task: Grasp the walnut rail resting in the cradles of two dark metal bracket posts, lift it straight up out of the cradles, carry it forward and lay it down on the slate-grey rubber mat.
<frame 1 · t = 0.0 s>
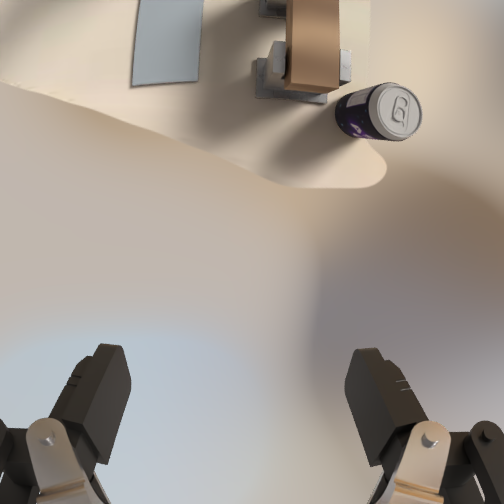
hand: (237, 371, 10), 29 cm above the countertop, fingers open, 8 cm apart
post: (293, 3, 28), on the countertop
beverage can: (353, 115, 34), on the countertop
mat: (169, 25, 29), on the countertop
rail: (306, 18, 23), point 8 cm above the countertop, touching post, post
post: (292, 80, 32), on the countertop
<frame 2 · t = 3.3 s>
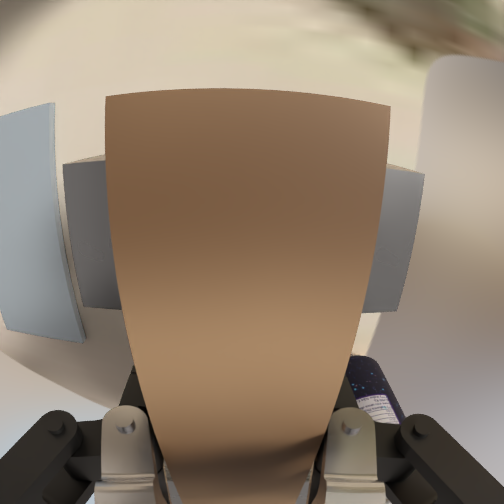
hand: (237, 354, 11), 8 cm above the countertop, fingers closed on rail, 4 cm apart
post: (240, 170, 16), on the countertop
beverage can: (341, 374, 22), on the countertop
mat: (18, 233, 16), on the countertop
rail: (238, 362, 10), point 8 cm above the countertop, touching gripper, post, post
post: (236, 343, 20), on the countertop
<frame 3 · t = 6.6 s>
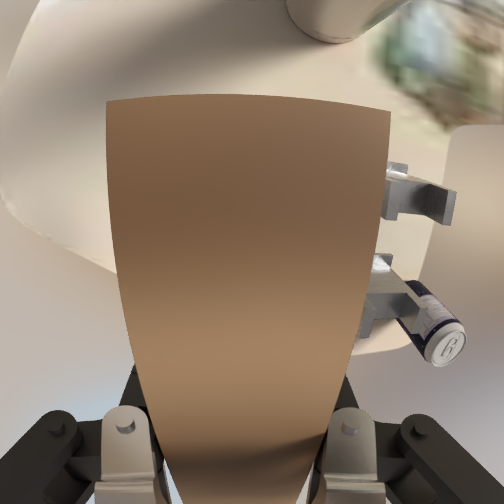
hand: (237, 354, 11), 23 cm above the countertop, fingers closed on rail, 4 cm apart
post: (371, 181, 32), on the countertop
beverage can: (404, 295, 38), on the countertop
rail: (238, 364, 10), point 24 cm above the countertop, touching gripper
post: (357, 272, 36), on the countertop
when the fingers open (2 cm above the countertop, at t = 9.7 s): rail drops 2 cm, resting on mat.
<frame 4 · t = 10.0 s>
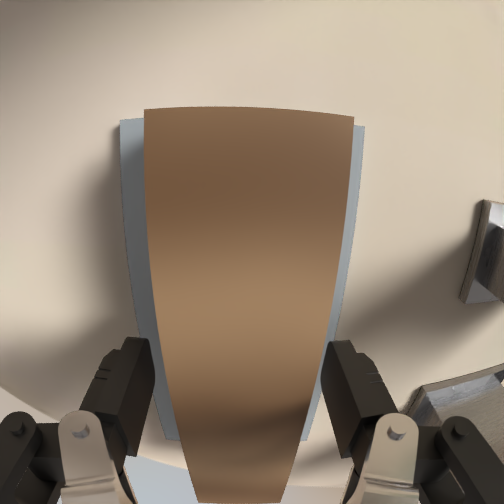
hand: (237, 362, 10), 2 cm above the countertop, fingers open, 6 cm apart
mat: (237, 325, 12), on the countertop
rail: (239, 336, 12), point 1 cm above the countertop, touching mat
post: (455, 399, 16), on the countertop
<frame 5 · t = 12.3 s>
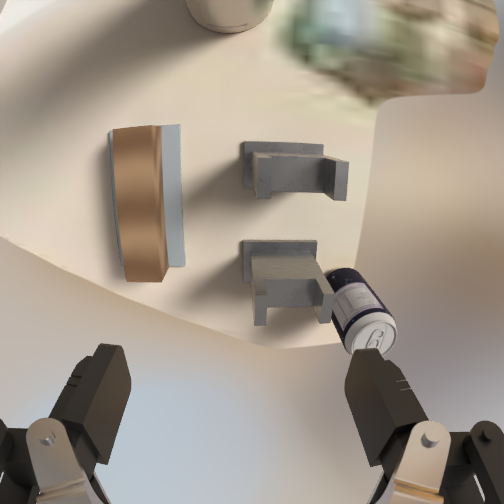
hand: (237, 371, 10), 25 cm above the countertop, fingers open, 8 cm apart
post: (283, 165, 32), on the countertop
beverage can: (339, 284, 38), on the countertop
mat: (147, 198, 33), on the countertop
rail: (146, 200, 32), point 1 cm above the countertop, touching mat
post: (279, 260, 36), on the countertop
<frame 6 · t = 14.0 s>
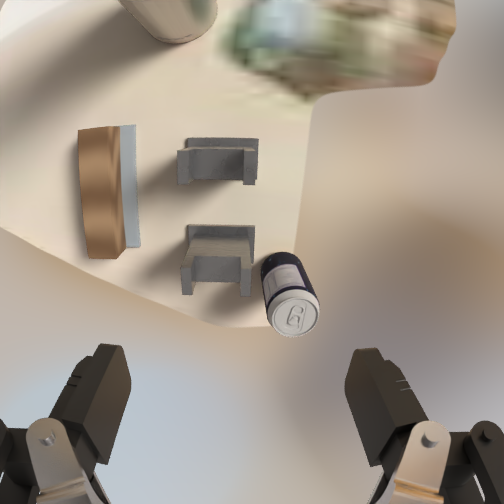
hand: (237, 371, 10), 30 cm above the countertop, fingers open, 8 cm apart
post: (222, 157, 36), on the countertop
beverage can: (280, 268, 42), on the countertop
mat: (108, 187, 37), on the countertop
rail: (107, 189, 36), point 1 cm above the countertop, touching mat
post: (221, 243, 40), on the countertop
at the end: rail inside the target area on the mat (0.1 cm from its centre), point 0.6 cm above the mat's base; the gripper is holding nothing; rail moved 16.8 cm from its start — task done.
